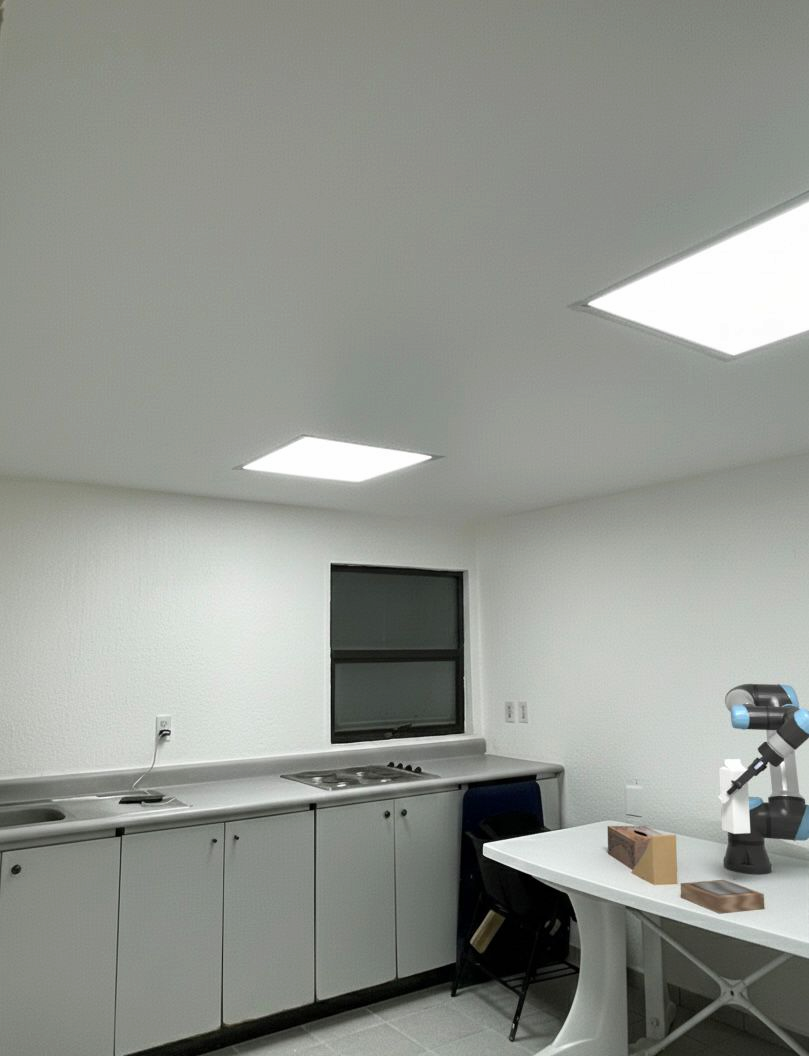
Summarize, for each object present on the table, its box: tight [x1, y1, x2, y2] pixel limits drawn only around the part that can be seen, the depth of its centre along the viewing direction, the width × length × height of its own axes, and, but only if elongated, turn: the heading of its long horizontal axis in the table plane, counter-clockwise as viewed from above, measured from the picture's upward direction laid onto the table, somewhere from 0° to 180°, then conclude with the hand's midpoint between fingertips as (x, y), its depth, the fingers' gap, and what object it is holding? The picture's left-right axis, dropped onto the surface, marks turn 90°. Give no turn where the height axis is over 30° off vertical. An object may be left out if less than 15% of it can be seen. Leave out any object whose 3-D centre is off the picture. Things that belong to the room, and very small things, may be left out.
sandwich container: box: [630, 834, 678, 886], centre depth 261 cm, size 9×15×15 cm, turn 12°
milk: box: [718, 758, 750, 834], centre depth 254 cm, size 6×6×22 cm
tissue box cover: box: [607, 825, 663, 871], centre depth 281 cm, size 26×14×10 cm, turn 6°
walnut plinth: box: [680, 879, 765, 914], centre depth 234 cm, size 16×16×4 cm
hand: (723, 798), depth 255 cm, fingers closed on milk, 8 cm apart
